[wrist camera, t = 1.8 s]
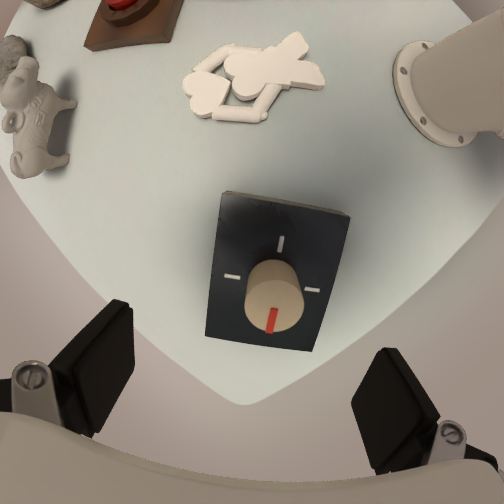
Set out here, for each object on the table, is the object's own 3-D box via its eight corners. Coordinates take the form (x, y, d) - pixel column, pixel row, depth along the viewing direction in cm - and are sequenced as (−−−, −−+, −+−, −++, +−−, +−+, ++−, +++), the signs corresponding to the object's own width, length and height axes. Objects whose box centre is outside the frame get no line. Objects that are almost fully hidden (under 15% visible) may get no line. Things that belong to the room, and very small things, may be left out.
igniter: (192, -22, 17) (183, -40, 14) (170, 42, 20) (156, 26, 17) (117, -10, 17) (103, -24, 14) (93, 51, 20) (74, 41, 17)
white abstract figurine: (174, 66, 21) (170, 58, 19) (290, 31, 20) (294, 22, 18) (205, 143, 23) (202, 139, 21) (325, 103, 23) (332, 98, 21)
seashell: (22, 19, 15) (-16, 27, 9) (54, 71, 23) (15, 85, 17) (2, 49, 17) (-34, 61, 11) (32, 99, 25) (-4, 118, 19)
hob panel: (226, 190, 25) (221, 193, 22) (341, 211, 25) (351, 217, 22) (209, 320, 29) (204, 337, 26) (308, 335, 29) (312, 352, 26)
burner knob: (252, 255, 23) (249, 276, 19) (302, 263, 24) (311, 286, 19) (244, 300, 25) (240, 329, 20) (291, 308, 25) (296, 337, 20)
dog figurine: (85, 68, 21) (25, 44, 11) (70, 174, 25) (1, 184, 15) (54, 77, 21) (-4, 61, 11) (41, 175, 25) (-23, 186, 15)
